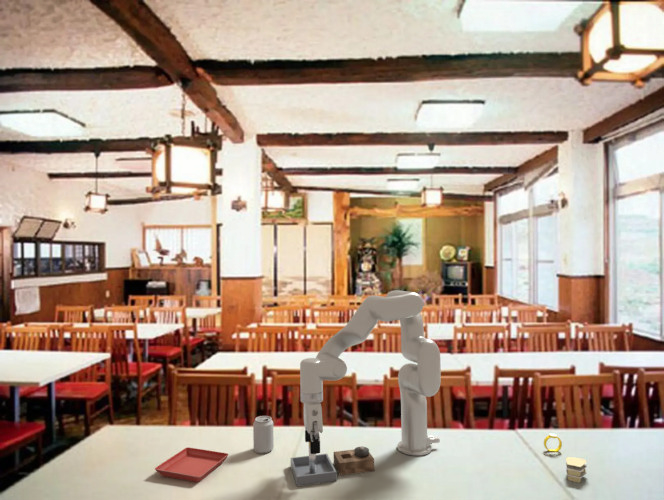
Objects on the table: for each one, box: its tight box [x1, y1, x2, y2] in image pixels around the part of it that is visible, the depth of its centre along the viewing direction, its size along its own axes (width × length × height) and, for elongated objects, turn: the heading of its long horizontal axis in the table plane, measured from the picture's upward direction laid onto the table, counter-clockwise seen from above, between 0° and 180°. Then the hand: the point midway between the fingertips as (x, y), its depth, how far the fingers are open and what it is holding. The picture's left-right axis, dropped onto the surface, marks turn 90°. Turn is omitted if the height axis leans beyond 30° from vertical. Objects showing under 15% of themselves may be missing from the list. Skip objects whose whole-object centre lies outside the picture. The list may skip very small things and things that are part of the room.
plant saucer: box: [154, 446, 229, 483], centre depth 158 cm, size 18×18×3 cm
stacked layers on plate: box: [565, 456, 588, 484], centre depth 148 cm, size 10×9×6 cm
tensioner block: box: [333, 446, 375, 476], centre depth 157 cm, size 12×9×6 cm
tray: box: [290, 453, 338, 487], centre depth 153 cm, size 13×14×3 cm
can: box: [252, 415, 275, 454], centre depth 172 cm, size 8×8×12 cm
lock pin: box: [308, 442, 317, 474], centre depth 153 cm, size 2×2×10 cm
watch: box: [543, 433, 563, 453], centre depth 167 cm, size 6×3×6 cm, turn 88°
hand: (312, 447), depth 153 cm, fingers open, 9 cm apart
